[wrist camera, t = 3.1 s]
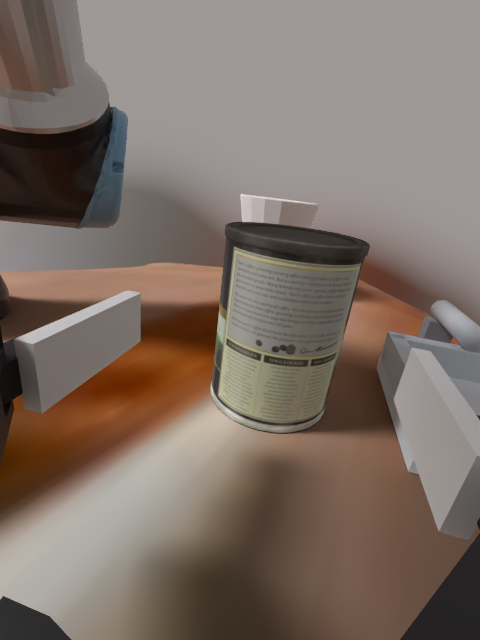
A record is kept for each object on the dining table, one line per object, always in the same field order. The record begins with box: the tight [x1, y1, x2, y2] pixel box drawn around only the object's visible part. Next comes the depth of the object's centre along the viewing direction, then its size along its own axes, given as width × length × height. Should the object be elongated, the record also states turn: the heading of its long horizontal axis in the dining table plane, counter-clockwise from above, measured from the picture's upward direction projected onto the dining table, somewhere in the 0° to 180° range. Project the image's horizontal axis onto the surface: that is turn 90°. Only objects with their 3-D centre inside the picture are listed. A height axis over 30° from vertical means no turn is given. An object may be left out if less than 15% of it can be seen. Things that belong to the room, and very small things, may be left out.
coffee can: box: [211, 222, 370, 433], centre depth 26 cm, size 10×10×14 cm
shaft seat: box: [377, 300, 480, 475], centre depth 30 cm, size 24×15×7 cm, turn 166°
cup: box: [241, 194, 319, 228], centre depth 58 cm, size 14×14×16 cm
